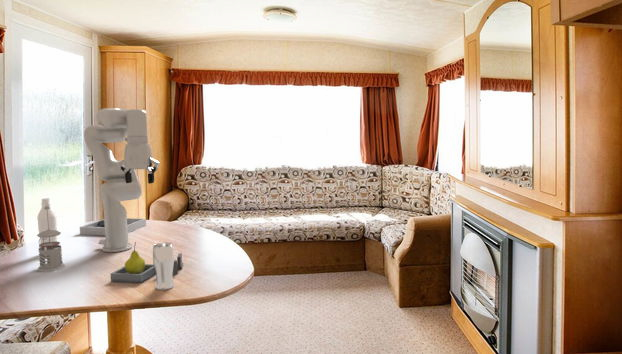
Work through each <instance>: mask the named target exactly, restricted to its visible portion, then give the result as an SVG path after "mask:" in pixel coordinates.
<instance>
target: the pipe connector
mask: <svg viewBox="0 0 622 354" xmlns="http://www.w3.org/2000/svg"><path fill="white" fill-rule="evenodd" d="M100 220H101V221H99V220H98V221H99V222H98V224H97V225H98V227H105V224H104V220H103V219H100Z"/></svg>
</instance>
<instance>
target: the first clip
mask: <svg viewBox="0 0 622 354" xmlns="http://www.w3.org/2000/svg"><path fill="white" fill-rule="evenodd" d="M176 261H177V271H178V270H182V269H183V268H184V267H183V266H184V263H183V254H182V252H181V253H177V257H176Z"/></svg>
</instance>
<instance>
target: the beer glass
mask: <svg viewBox="0 0 622 354" xmlns="http://www.w3.org/2000/svg"><path fill="white" fill-rule="evenodd" d="M174 260H175V250H174V244H173V243H172V242H158V243H155V244H153V245H152V262H153V263H152V264H154V268H155V272H156V274H155V276H156V277H155V278H156V282H155V289H156V290H159V291H166V290H170V289H172V288H174V287H175V283H174V279H173V278H174V276H172V273H173V266H174Z"/></svg>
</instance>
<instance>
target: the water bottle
mask: <svg viewBox="0 0 622 354" xmlns="http://www.w3.org/2000/svg"><path fill="white" fill-rule="evenodd" d="M40 205H41V208H40V210H39V212H38V214H37V218H36V219H37V225H38V226H37V227H38V234H39V233H41V232H43V231H46V230H48V223H49V230H56V231H58V223H57V215H56V212H55V211H54V209H53V208H52V206H51V201H50V198H41V204H40ZM45 206H49V207H50V209H44V207H45ZM47 210H48V219H47ZM39 239H40V242H39V243H40V244H42V243H43V240H42V239H46V237H45V238H44V237H41V238H40V237H39ZM47 242H49V237H47V239H46V240H44V243H47ZM50 242H58V236H54V237H50ZM40 248H41V247H40ZM55 249H57V248H55ZM45 250H46V247H45Z"/></svg>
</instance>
